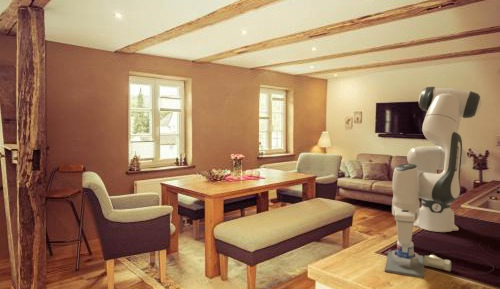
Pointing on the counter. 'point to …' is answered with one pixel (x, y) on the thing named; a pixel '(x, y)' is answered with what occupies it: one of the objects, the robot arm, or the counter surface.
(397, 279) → the counter surface
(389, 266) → the mat
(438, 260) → the pipe fitting
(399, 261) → the steel collar
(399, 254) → the pill bottle
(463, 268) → the counter surface
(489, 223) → the counter surface
